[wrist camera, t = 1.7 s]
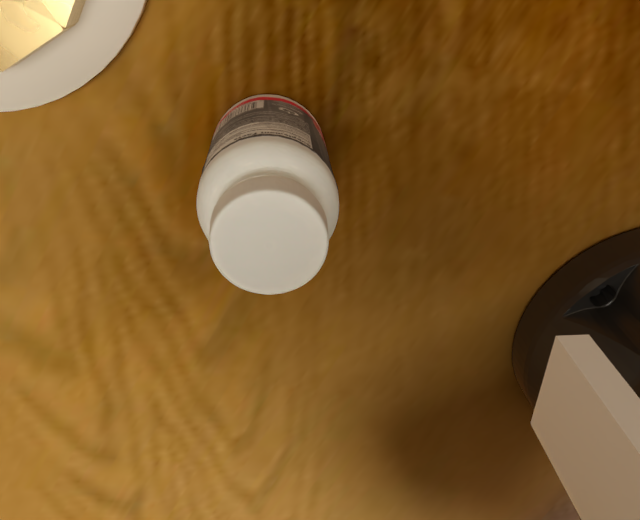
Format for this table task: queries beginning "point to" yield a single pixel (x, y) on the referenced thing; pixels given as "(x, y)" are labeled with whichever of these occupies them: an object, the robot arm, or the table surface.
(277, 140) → the pill bottle
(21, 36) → the collar
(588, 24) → the table surface
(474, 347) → the table surface
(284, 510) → the table surface
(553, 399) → the robot arm
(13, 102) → the coaster
